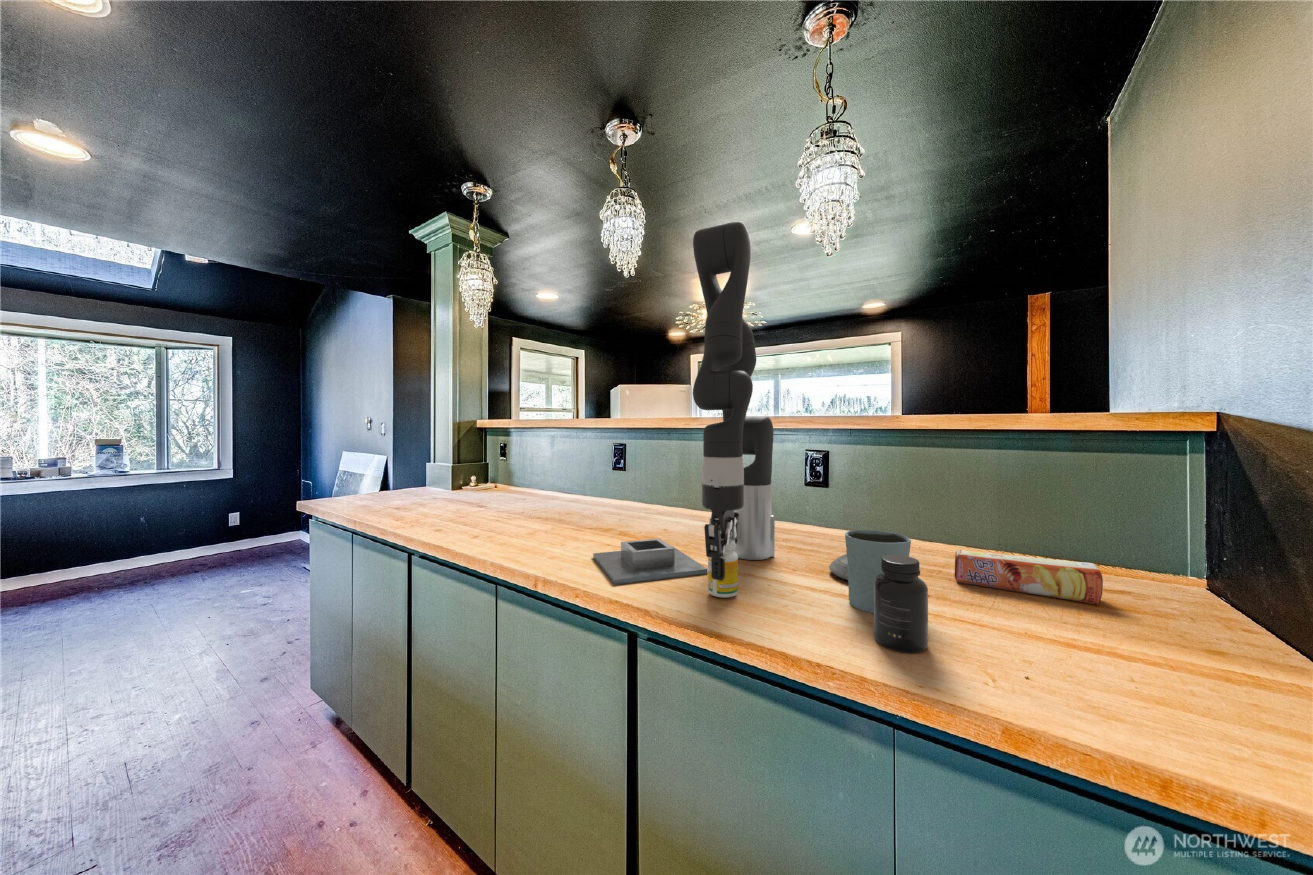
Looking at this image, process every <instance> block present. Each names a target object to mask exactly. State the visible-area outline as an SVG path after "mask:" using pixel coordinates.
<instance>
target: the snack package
mask: <svg viewBox="0 0 1313 875" xmlns="http://www.w3.org/2000/svg"><path fill="white" fill-rule="evenodd" d="M953 577H954V579H955V581H956V582H957V583H959V584H964V585H973V586H978V587H979V586H980V587H986V588H991V589H999V590H1003V591H1009V592H1010V591H1011V592H1017V593H1023V594H1029V595H1037V596H1038V595H1039V596H1043V597H1049V598H1055V599H1063V600H1067V601H1074V602H1079V603H1083V604H1084V603H1085V604H1091V605H1098V604H1099V603H1100V602H1101V599H1102V596H1103V588H1104V587H1103V586H1104V585H1103V584H1104V580H1103V578H1104V577H1103V574H1102V572H1101V570H1100V569H1099V568H1098V566H1097V565H1096V564H1095V563H1092V562H1085V561H1073V560H1065V559H1064V560H1063V559H1051V558H1042V557H1031V556H1022V555H1012V554H1003V553H994V552H984V551H971V550H965V549H958V550H956V551H955V554H954V576H953Z"/></svg>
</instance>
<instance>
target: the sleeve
mask: <svg viewBox="0 0 1313 875" xmlns="http://www.w3.org/2000/svg"><path fill="white" fill-rule="evenodd" d="M592 559H593V560H595V562H596V563H597V564H598V566H599V567H600V568H601V570H602V571H603V572H604V574H606V576H607V577H608V578H609V580H610V581H611V582H612V584H613V585H614V586H619V585H626V584H634V583H644V582H652V581H659V580H668V579H674V578H675V579H676V578H684V577H692V576H700V575H708V567H705V566H704V565H702V564H700V563H699V562H697V561H696V560H695V559H693V558H691V557H690V556H689V555H687V554H686V553H684V552H682V551H681V550H679V549H678V548H676V547H675V546H673V545H670V544H668V543H667V542H666V541H664V540H663V539H661V538H651V539H640V540H638V539H637V540H629V541H628V540H627V541H620V550H615V551H605V552H594V553H592Z"/></svg>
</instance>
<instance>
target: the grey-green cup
mask: <svg viewBox="0 0 1313 875" xmlns="http://www.w3.org/2000/svg"><path fill="white" fill-rule="evenodd" d="M844 538H845V548H846V553H845V554H847V560H848V567H847V571H848V580H847V582H848V601H849V604H850V605H851V606H852V607H854V608H855V609H857V610H860V611H862V612H866V613H869V614H873V615H874V580H875V578H876V577H877V576H878V575H879V574H881V573H883V572H882V571H881V558H882V557H883V556H885V555H903V556H908V557H910V553H911V552H910V551H911V546H912V545H911V544H912V540H911V538H910V537H908V536H907V535H903V534H900V533H895V532H890V531H885V530H884V531H883V530H876V529H874V530H873V529H872V530H871V529H853V530H847V531H846V532H845V533H844Z"/></svg>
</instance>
